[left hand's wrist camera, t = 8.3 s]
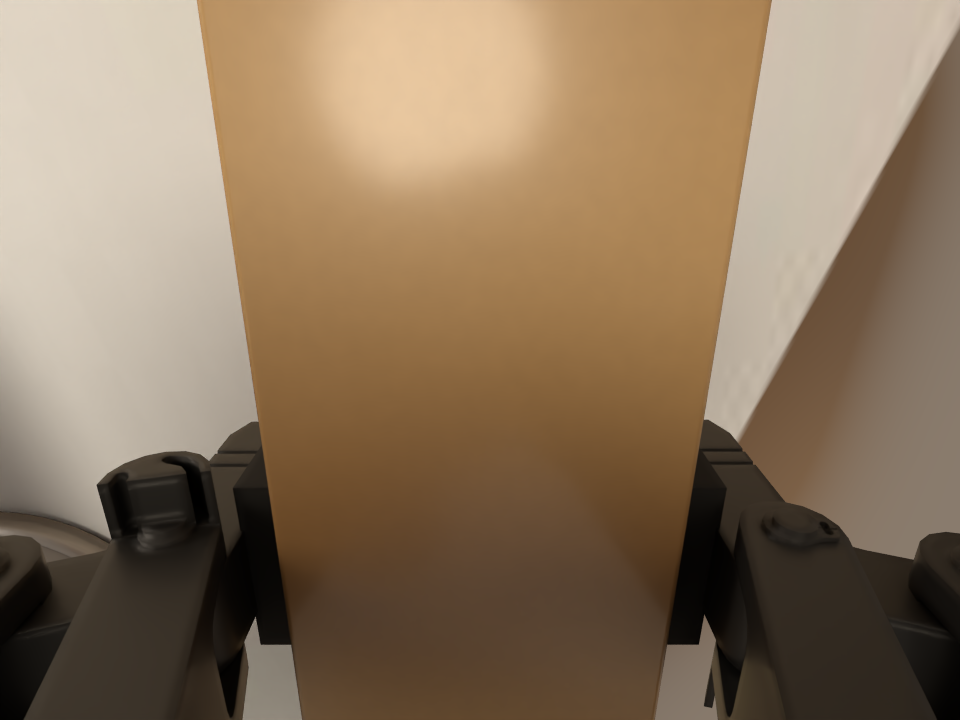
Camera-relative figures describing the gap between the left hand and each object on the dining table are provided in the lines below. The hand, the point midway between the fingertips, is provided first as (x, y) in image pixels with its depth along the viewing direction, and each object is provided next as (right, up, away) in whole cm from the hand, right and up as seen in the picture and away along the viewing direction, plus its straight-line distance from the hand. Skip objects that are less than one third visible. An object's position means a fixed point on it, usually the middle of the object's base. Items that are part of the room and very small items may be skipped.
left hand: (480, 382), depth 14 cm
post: (0, +28, -10) cm, 30 cm away
